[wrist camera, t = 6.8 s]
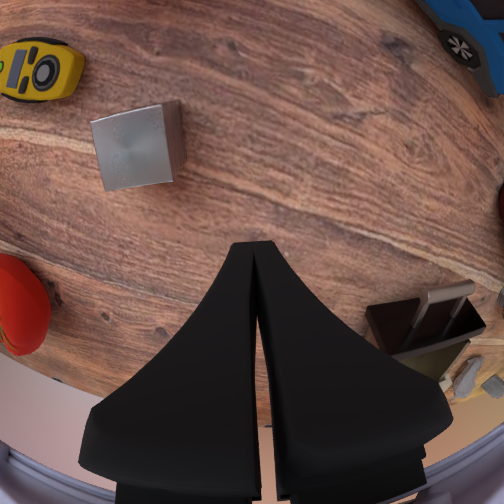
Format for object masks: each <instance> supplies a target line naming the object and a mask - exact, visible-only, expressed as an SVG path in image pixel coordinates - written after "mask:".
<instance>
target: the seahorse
mask: <svg viewBox="0 0 504 504" xmlns="http://www.w3.org/2000/svg"><path fill="white" fill-rule="evenodd" d="M483 361H484V358H483V357H482V356H481V355H480V356H479V357H474V358H473V359H470V360H467V362H468V363H469V364H468V365H467V366H466V367H465V368H464V369H463V371H462V372H461V373H460V374H459V375H458V376H457V378H456V379H455V381H454V384H453V392H454V396H453V398H452V399H451V400H450V402H452V401H453V400H454V399H455V397H458V398H465V397H467V396H468V395H469V394H470V393H471V391H472V389H473V388H474V386H475V377H476V375H477V374H476V371H479V370H480V368H481V366H482V363H483Z"/></svg>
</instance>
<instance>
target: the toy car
mask: <svg viewBox="0 0 504 504" xmlns="http://www.w3.org/2000/svg"><path fill="white" fill-rule="evenodd" d="M414 1H415V2H416V3H417V4H418V5H419V6H420V7H421V9H422V10H423V11H424V12H425V13H426V14H427V15H428V16H429V18H430V19H431V20H432V21H433V22H434V24H435V25H436V26H437V27H438V29H439V30H440V31H442V30H443V29H444V30H443V31H442V32H441V33H440V34H439V35H438V36H439V38H440V40H441V42H442V45H443V47H444V49H445V50H446V51H447V52H448V53H449V54H450V55H451V56H452V57H453V58H454V59H455V60H456V61H457V62H459V63H461V64H463V65H465V66H468V68H467V69H468V70H469V71H470V72H471V73H472V75H473V76H474V78H475V79H476V81H477V82H478V84H479V86H480V87H481V89H482V90H483V92H484V93H485V94H486V95H488V96H489V97H493V98H496V99H497V97H498V96H499V94H503V95H504V0H414Z"/></svg>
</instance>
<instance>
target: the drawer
mask: <svg viewBox="0 0 504 504" xmlns="http://www.w3.org/2000/svg"><path fill="white" fill-rule="evenodd" d="M474 291H475V283H474V281H473V280H471V279H469V280H464V281H459V282H454V283H448V284H443V285H438V286H432V287H426V288H422V289H421V291H420V295H419V298H414V299H408V300H402V301H397V302H390V303H384V304H378V305H371V306H367V309H366V312H365V316H366V319H367V321H368V323H369V326H368V329H367V332H366V335H365V337H364V339H366V340H367V341H368V342H370V343H371V344H373V345H374V346H375V347H377V348H378V349H380V350H381V351H383V352H384V353H386V354H388V355H389V356H391V357H392V358H394V359H396V360H397V361H399V362H401V363H402V364H404V365H406V366H408V367H410V368H412V369H414V370H416V371H417V372H419V373H421V374H423V375H425V376H427V377H429V378H431V379H433V380H435V381H437V382H438V383H439V382H440V381H441V380H442V379H443V378H444V377H445V375H446V374H447V373H448V372H449V371H450V369H451V368H452V367H453V366H454V364H455V363H456V362H457V360H458V359H459V358H460V357H461V355H462V354H463V353H464V351H465V350H466V348H467V347H468V346H469V344H470V343H471V342H470V340H469V339H470V338H472V337H475V336H477V335H480V334H482V332H483V331H484V329H485V328H486V325H485V323H484V322H483V320H482V318H481V317H480V315H479V314H478V313H477V311H476V310H475V308H474V307H473V305H472V304H471V302H470V301H469V300H468V298H467V296H468V295H472V294H473V293H474Z"/></svg>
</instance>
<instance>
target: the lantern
mask: <svg viewBox="0 0 504 504" xmlns="http://www.w3.org/2000/svg"><path fill="white" fill-rule="evenodd" d="M497 302H498V303H499V305H500V306H501V307H502V308H503V309H504V287H503V289H502V290H501V292H500V294H499V297H498V300H497ZM502 316H503V320H504V310H502Z"/></svg>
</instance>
